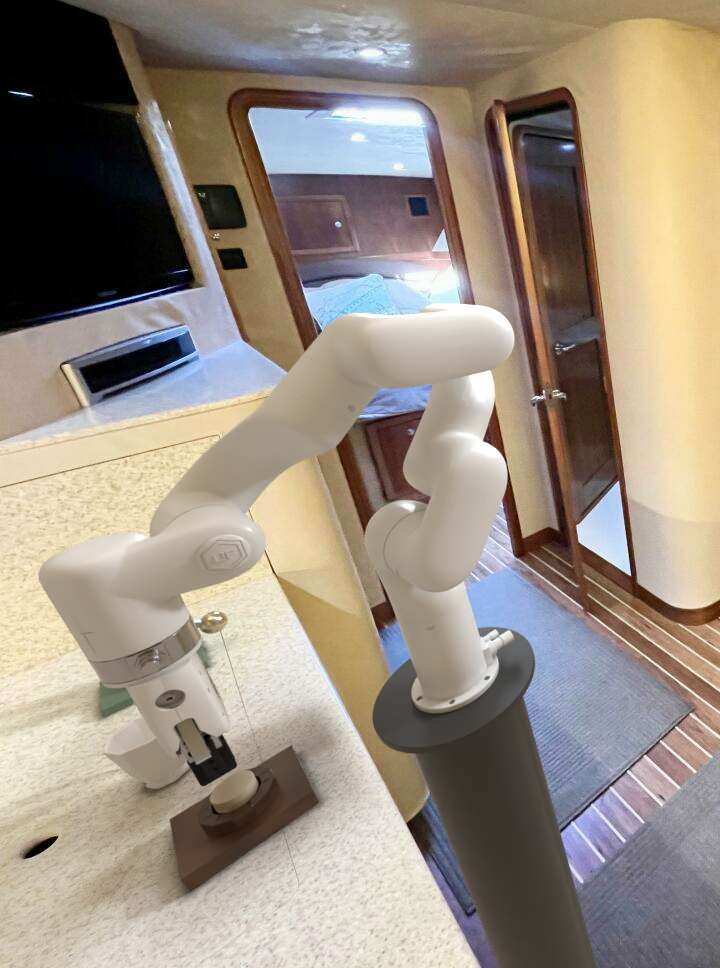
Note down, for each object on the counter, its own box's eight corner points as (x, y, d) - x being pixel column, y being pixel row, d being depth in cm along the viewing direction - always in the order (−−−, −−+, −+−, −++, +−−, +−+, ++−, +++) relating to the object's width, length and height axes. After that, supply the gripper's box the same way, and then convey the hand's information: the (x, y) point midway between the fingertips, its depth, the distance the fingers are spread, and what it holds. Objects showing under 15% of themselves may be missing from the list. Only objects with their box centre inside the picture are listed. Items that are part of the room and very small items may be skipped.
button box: (297, 755, 72) (287, 734, 70) (319, 802, 65) (308, 780, 64) (177, 831, 63) (162, 809, 62) (189, 892, 57) (172, 869, 56)
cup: (141, 810, 66) (109, 765, 63) (118, 773, 71) (88, 730, 68) (212, 763, 72) (186, 719, 69) (186, 731, 77) (161, 689, 74)
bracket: (201, 642, 94) (171, 588, 90) (209, 666, 88) (178, 609, 84) (102, 687, 86) (64, 629, 81) (105, 716, 80) (64, 656, 76)
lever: (222, 627, 94) (228, 607, 94) (226, 636, 91) (232, 615, 91) (110, 636, 83) (117, 613, 83) (111, 646, 81) (119, 623, 81)
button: (255, 773, 66) (249, 763, 65) (262, 793, 63) (256, 783, 63) (213, 799, 63) (206, 789, 62) (219, 821, 60) (212, 811, 60)
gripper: (208, 659, 53) (274, 786, 59) (187, 600, 62) (247, 716, 68) (97, 710, 47) (184, 844, 54) (93, 638, 57) (167, 759, 63)
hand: (219, 772), depth 61 cm, fingers closed
